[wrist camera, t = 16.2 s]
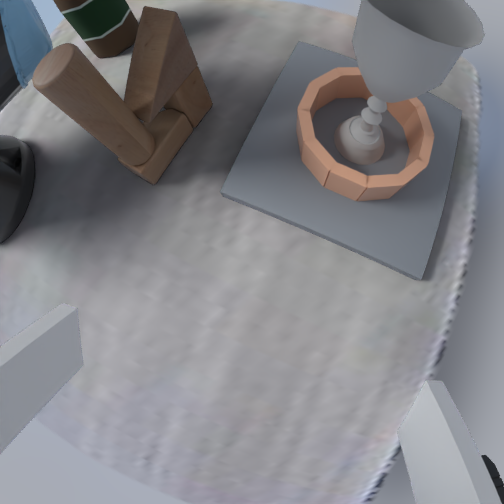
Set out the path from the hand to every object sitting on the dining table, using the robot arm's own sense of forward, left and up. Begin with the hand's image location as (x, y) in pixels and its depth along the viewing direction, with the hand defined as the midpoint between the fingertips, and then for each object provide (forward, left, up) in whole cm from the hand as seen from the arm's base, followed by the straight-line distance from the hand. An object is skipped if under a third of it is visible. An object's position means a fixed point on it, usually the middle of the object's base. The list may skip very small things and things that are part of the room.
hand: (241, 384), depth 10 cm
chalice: (+1, +19, -17) cm, 26 cm away
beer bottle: (-34, +25, -19) cm, 46 cm away
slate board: (+1, +19, -18) cm, 27 cm away
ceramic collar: (+1, +19, -17) cm, 26 cm away
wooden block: (-17, +13, -19) cm, 28 cm away
